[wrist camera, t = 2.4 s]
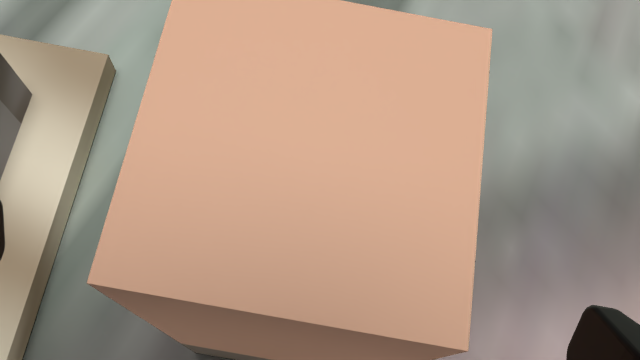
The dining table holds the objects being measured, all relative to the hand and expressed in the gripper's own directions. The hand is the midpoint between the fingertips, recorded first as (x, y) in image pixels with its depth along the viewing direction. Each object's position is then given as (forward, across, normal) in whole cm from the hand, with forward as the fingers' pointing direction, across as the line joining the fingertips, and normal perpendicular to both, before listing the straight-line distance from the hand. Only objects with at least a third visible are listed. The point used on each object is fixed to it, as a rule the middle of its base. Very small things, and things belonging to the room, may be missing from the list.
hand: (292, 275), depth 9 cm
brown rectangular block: (+7, 0, +5) cm, 9 cm away
